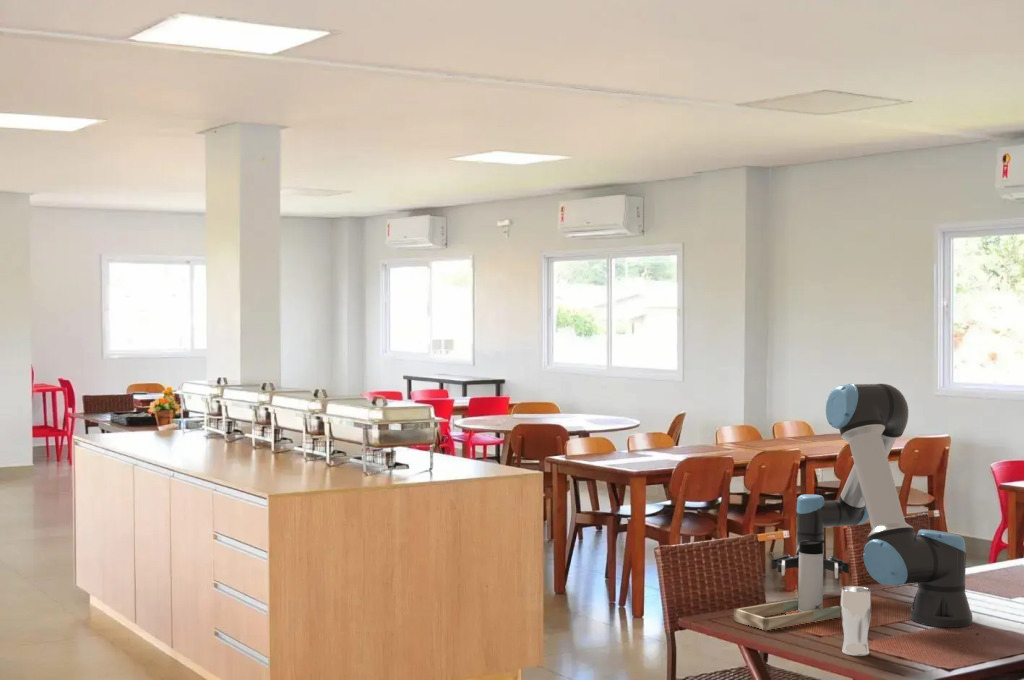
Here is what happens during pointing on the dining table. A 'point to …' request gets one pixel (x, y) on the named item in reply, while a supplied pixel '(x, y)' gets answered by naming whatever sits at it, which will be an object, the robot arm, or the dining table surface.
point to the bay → (757, 615)
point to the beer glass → (855, 619)
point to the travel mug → (810, 575)
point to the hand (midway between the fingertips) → (809, 571)
